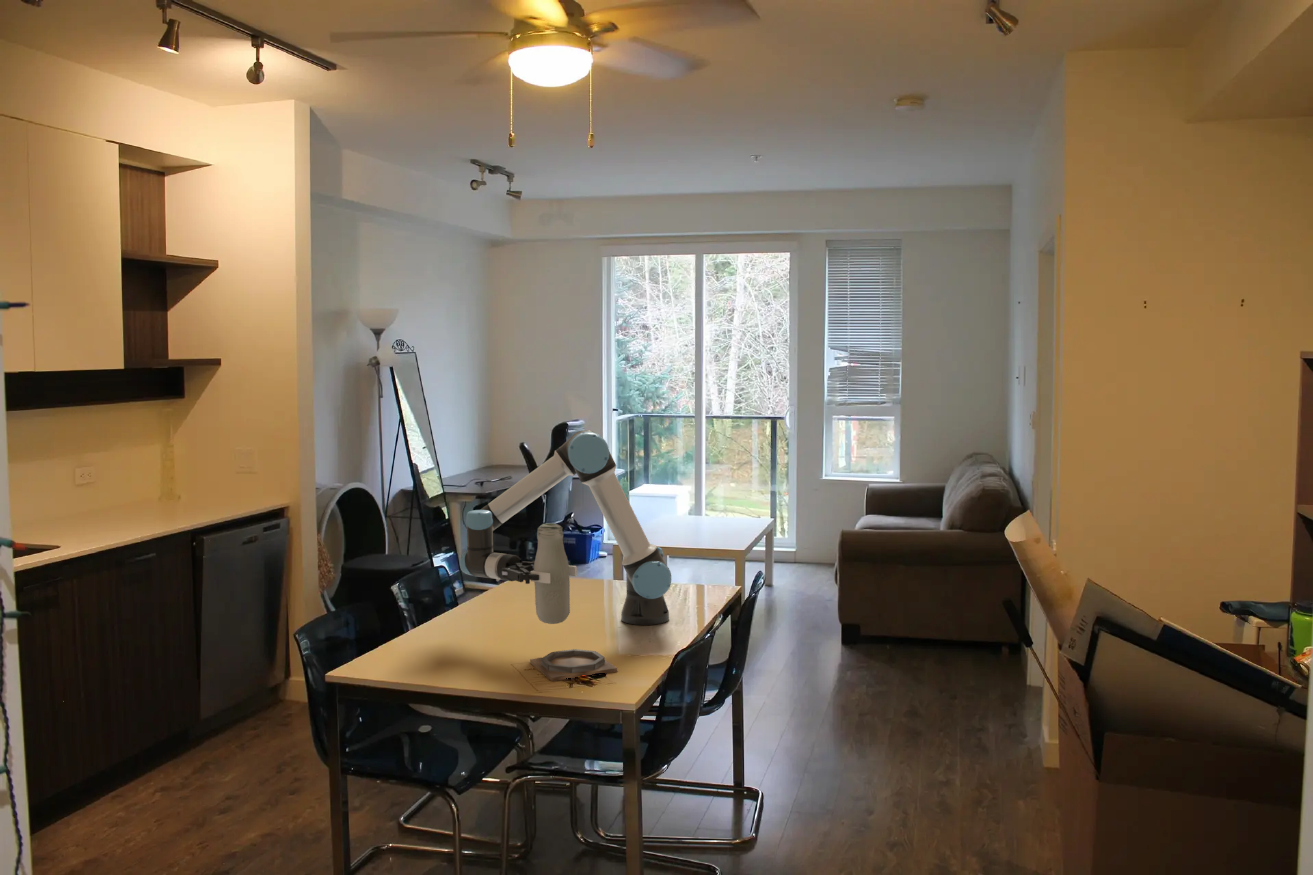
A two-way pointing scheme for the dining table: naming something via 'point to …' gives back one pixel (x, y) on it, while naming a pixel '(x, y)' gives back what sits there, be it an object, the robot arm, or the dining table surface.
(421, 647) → the dining table surface
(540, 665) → the socket board
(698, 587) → the dining table surface
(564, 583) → the glass bottle
